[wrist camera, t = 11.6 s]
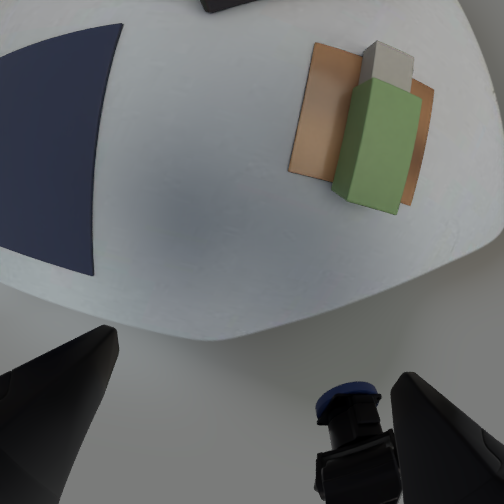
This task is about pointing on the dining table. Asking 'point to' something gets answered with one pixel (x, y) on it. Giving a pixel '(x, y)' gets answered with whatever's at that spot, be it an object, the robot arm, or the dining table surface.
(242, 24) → the dining table surface
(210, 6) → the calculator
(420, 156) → the coaster
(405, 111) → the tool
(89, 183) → the napkin
